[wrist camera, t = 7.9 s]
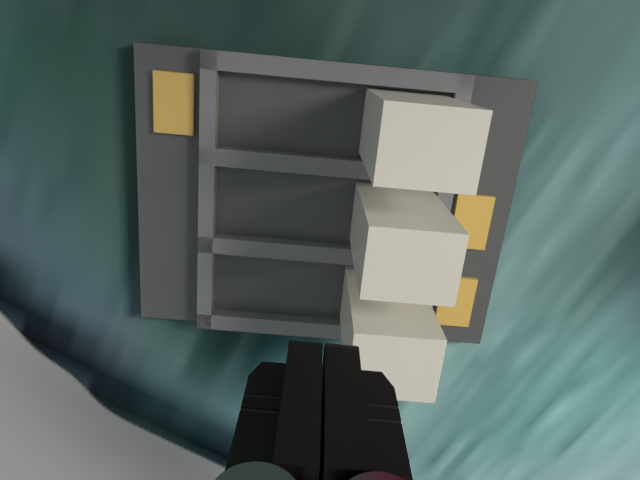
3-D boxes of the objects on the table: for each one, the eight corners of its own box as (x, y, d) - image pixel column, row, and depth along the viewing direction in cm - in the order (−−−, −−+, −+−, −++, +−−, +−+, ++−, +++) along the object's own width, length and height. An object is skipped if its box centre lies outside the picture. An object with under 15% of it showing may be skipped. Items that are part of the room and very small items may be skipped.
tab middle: (430, 188, 27) (469, 234, 20) (421, 244, 29) (455, 307, 21) (356, 182, 27) (369, 225, 20) (349, 238, 28) (359, 299, 21)
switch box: (530, 80, 27) (545, 82, 25) (474, 335, 32) (483, 350, 30) (140, 42, 26) (127, 41, 24) (146, 308, 31) (136, 323, 29)
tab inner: (445, 95, 26) (492, 110, 19) (434, 158, 27) (476, 195, 20) (366, 88, 26) (384, 100, 19) (358, 151, 27) (372, 186, 20)
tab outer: (416, 271, 29) (447, 340, 22) (407, 321, 30) (434, 403, 23) (345, 265, 29) (353, 333, 22) (339, 316, 30) (346, 396, 23)
